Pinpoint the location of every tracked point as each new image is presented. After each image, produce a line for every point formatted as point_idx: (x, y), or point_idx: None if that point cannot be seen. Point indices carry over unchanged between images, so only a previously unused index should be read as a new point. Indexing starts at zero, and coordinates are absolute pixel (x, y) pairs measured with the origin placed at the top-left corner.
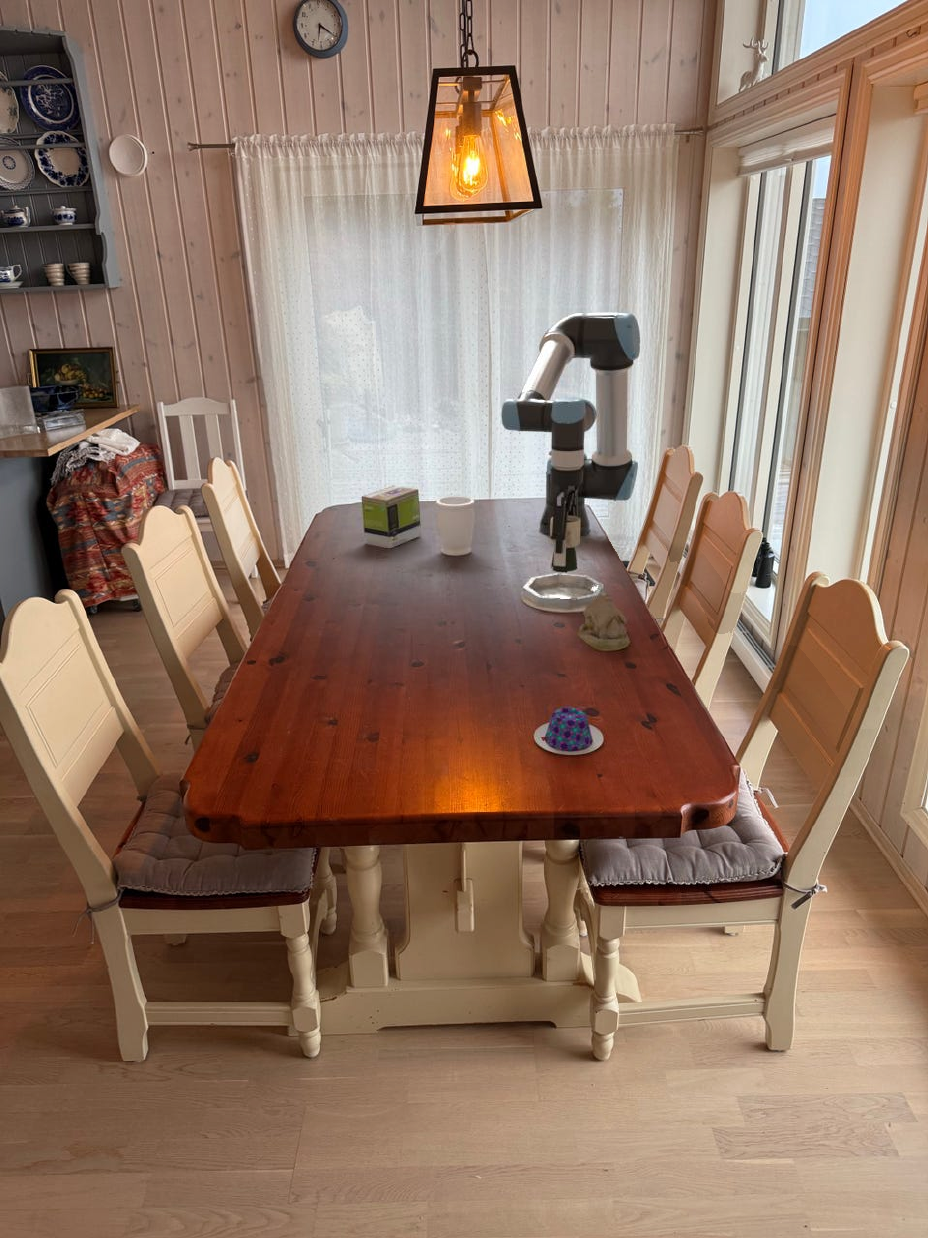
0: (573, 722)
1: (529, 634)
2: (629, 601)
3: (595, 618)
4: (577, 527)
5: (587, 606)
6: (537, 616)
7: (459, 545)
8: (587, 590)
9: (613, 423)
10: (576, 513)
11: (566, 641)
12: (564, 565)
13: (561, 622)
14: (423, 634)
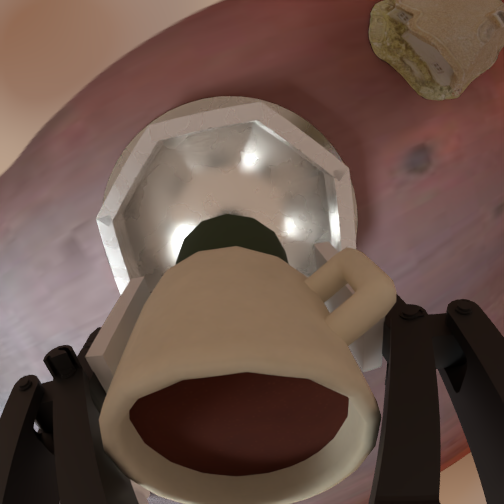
0: None
1: (476, 202)
2: (164, 44)
3: (498, 52)
4: (267, 315)
5: (463, 79)
6: (392, 230)
7: (136, 495)
8: (148, 188)
9: None
10: (22, 428)
11: (479, 117)
12: (329, 243)
13: (405, 159)
14: None
